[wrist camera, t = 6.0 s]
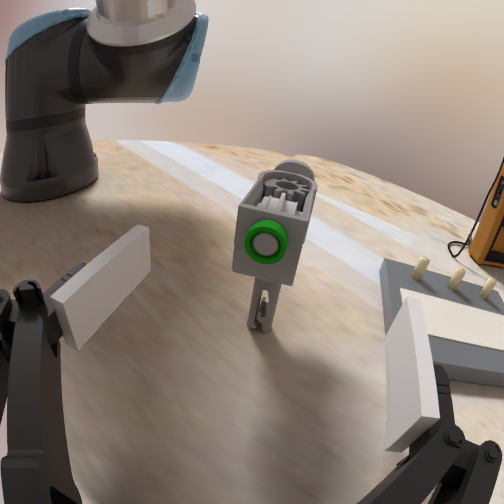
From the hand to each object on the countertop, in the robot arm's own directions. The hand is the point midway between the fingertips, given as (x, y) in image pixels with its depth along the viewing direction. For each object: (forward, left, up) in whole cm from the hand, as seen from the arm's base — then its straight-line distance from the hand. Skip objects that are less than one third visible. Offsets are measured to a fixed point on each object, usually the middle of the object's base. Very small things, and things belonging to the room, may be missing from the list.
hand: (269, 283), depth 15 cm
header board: (+16, +8, -6) cm, 18 cm away
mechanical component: (0, +3, -6) cm, 7 cm away
